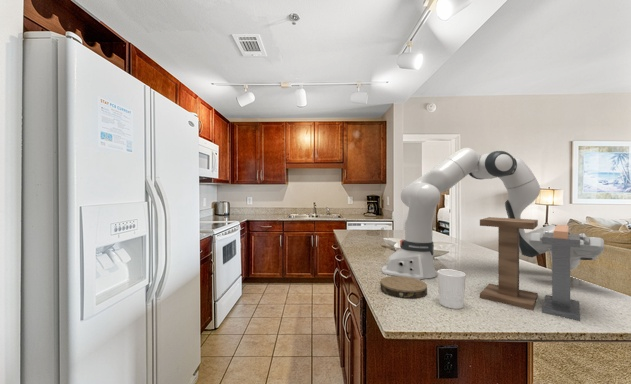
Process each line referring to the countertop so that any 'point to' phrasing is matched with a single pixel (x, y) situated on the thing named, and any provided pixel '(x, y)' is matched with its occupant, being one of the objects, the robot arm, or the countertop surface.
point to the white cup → (451, 288)
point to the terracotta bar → (561, 231)
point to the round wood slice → (403, 287)
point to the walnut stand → (509, 264)
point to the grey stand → (561, 278)
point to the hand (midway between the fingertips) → (563, 233)
